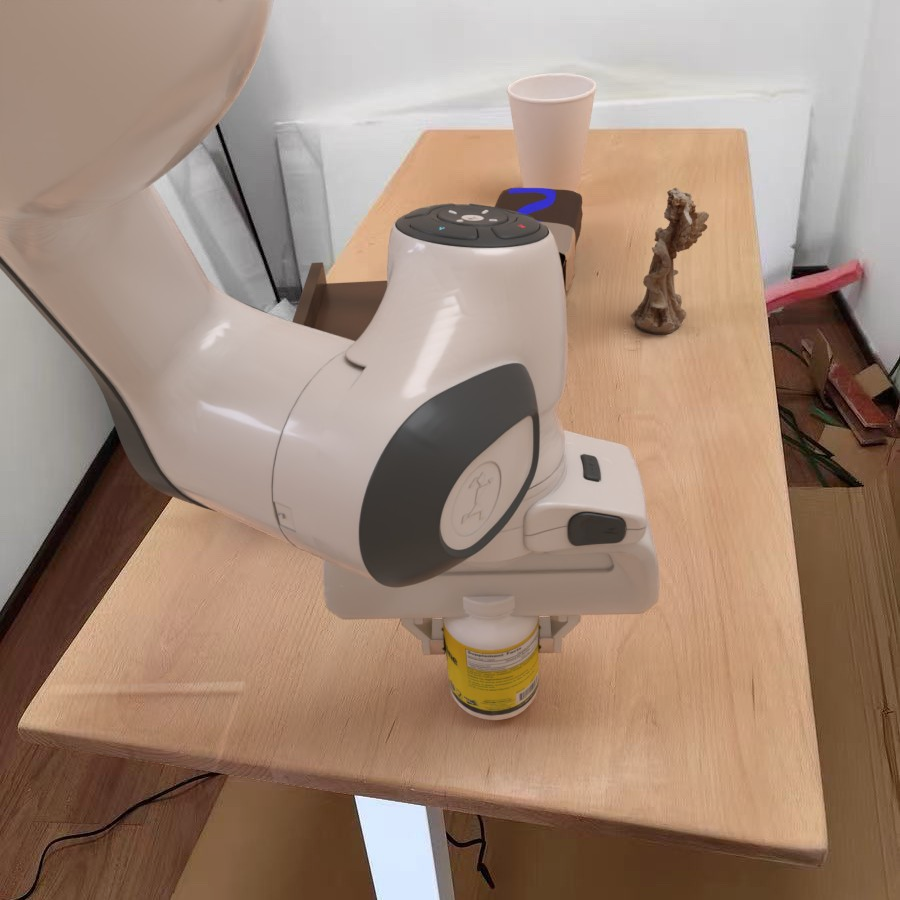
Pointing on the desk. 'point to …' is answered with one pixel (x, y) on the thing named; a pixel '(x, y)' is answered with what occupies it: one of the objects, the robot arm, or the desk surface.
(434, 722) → the desk surface
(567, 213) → the chocolate bar pack
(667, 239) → the figurine
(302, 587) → the desk surface
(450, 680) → the pill bottle
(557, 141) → the cup
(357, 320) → the shelf
